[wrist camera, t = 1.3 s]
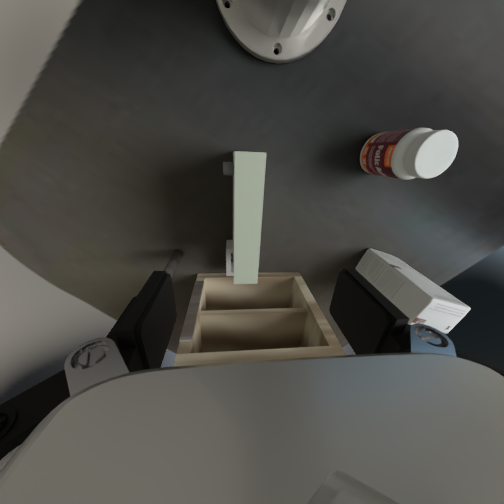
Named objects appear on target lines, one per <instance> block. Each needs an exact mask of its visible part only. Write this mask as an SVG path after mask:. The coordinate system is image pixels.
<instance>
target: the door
mask: <svg viewBox="0 0 504 504" xmlns="http://www.w3.org/2000/svg"><path fill="white" fill-rule="evenodd" d="M265 165H266V153H260V152H240V151H233V162H223V175H233V240H226V276H234V284H257V282H258V267H259V253H260V238H261V224H262V209H263V195H264V180H265ZM231 253H233V262H231Z"/></svg>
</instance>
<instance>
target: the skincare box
mask: <svg viewBox="0 0 504 504" xmlns="http://www.w3.org/2000/svg"><path fill="white" fill-rule="evenodd" d="M355 269H356V270H357V271H358V272H359V273H360V274H361V275H362V276H363V277H364V278H365V279H367V280H368V281H369V282H370V283H371V284H372V285H373V286H374V287H375V288H376V289H378V290H379V291H380V292H381V293H382V294H383V295H384V296H385V297H386V298H387V299H389V300H390V301H391V302H392V303H393V304H394V305H395V306H396V307H397V308H398V309H400V310H401V311H402V312H403V313H404V314H405V315H406V316H407V317H408V318H409V321H408V324H410V325H413V324H417V323H419V324H425V325H428V326H431V327H433V328H436V329H437V330H439V331H441V332H442V333H448V332H449V331H450V330H451V329H452V328H453V327H454V326H455V325H456V324H457V323H458V322H459V321H460V320H461V319H462V318H463V317H464V316H465V315H466V314H467V313H468V312H469V310H470V309H471V308H470V307H469V306H467V305H466V304H464V303H462V302H461V301H459V300H458V299H457V298H455V297H454V296H452V295H451V294H449V293H448V292H447V291H445V290H443V289H442V288H441V287H439V286H438V285H436V284H435V283H434V282H432V281H431V280H429V279H428V278H426V277H425V276H423V275H422V274H420V273H419V272H417V271H416V270H414V269H413V268H412V267H410V266H409V265H407V264H406V263H404V262H403V261H401V260H400V259H398V258H397V257H394V256H392V255H390V254H387V253H384V252H381V251H378V250H374V249H371V248H369V249H368V250H367V251H366V252H365V254H364V255H363V257H362V258H361V260H360V261H359V263H358V265H357V266H356V268H355Z"/></svg>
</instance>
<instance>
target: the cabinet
mask: <svg viewBox="0 0 504 504" xmlns="http://www.w3.org/2000/svg"><path fill="white" fill-rule="evenodd" d="M182 255H183V252H182V251H181V250H179V249H177V250H175V251H174V253H173V255H172V256H171V258H170V260H169V262H168V264H167V265H166V267H165V269H164V271H166V272H167V274H170V275H171V278H172V276H173V274H174V272H175V270H176V268H177V265H178V263H179V261H180V259H181V257H182ZM179 342H180V343H179V346H178V350H177V354H176V358H175V361H174V365H173V367H174V366H186V365H198V364H212V363H227V362H242V361H257V360H273V359H289V358H306V357H323V356H341V355H346V353H345V352H344V350H343V348H342V346H341V345H340V343H339V341H338V339H337V338H336V336H335V334H334V332H333V331H332V329H331V327H330V325H329V324H328V322H327V320H326V318H325V317H324V315H323V313H322V311H321V310H320V308H319V306H318V304H317V303H316V301H315V299H314V297H313V296H312V294H311V292H310V290H309V289H308V287H307V285H306V283H305V282H304V280H303V278H302V276H301V274H300V273H299V272H277V273H258V282H257V284H234V276H226V273H199V274H198V275H197V279H196V281H195V284H194V288H193V291H192V295H191V299H190V302H189V306H188V310H187V313H186V317H185V321H184V324H183V328H182V332H181V335H180V339H179Z"/></svg>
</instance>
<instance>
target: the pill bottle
mask: <svg viewBox="0 0 504 504" xmlns="http://www.w3.org/2000/svg"><path fill="white" fill-rule="evenodd" d="M457 150H458V139H457V137H456V135H455V134H454V133H453V132H452V131H449V130H432V129H429V128H415V129H407V130H398V131H390V132H382V133H378V134H375V135H374V136H372V137H371V138H369V139H368V140H367V142H366V143H365V144H364V146H363V148H362V150H361V153H360V164H361V167H362V169H363V170H364V171H365V172H367V173H370V174H375V175H381V176H387V177H393V178H398V179H413V178H416V177H417V178H425V179H427V178H433V177H436V176H438V175H440V174H441V173H443V172H444V171H445V170H446V169H447V168H448V167H449V166H450V165H451V163H452V162H453V160H454V158H455V156H456V154H457Z"/></svg>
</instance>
